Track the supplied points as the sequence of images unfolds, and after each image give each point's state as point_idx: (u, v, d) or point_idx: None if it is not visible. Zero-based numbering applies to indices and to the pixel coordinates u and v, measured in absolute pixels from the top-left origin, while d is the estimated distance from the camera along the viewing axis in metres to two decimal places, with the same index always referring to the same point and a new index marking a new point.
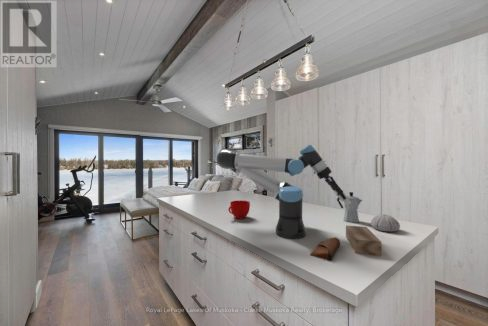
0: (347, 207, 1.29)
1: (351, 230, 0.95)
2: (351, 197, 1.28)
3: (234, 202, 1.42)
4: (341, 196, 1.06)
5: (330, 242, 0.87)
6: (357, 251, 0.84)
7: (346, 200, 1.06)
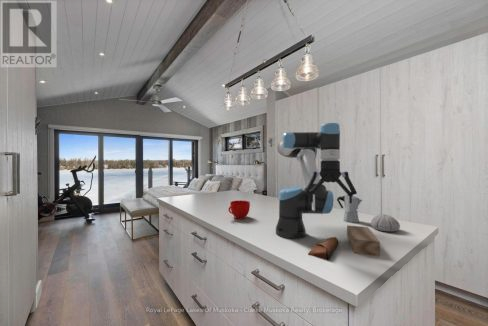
0: None
1: (351, 230, 0.95)
2: None
3: (234, 202, 1.42)
4: None
5: (328, 242, 0.87)
6: (355, 251, 0.85)
7: (312, 204, 0.89)
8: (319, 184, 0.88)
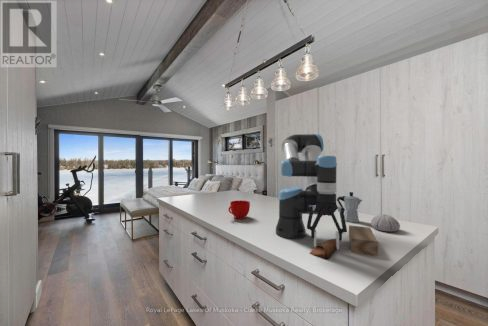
0: (347, 207, 1.29)
1: (351, 230, 0.96)
2: (351, 197, 1.28)
3: (234, 202, 1.42)
4: None
5: (328, 243, 0.87)
6: (353, 250, 0.85)
7: (314, 240, 0.88)
8: (318, 219, 0.87)
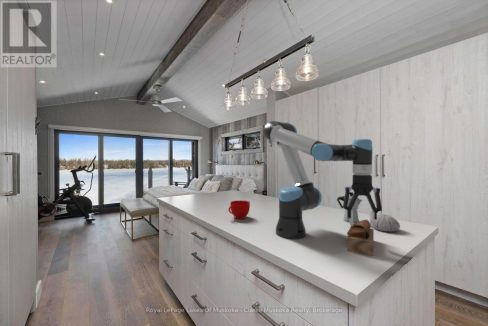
0: None
1: None
2: (351, 197, 1.28)
3: (234, 202, 1.42)
4: None
5: (363, 223, 0.94)
6: (348, 249, 0.87)
7: (350, 220, 0.93)
8: (354, 199, 0.92)
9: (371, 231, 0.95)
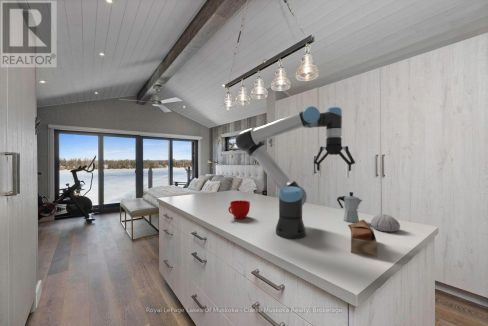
0: (347, 207, 1.29)
1: None
2: (351, 197, 1.28)
3: (234, 202, 1.42)
4: None
5: (364, 223, 0.92)
6: (352, 250, 0.85)
7: (319, 172, 1.13)
8: (324, 156, 1.11)
9: None
